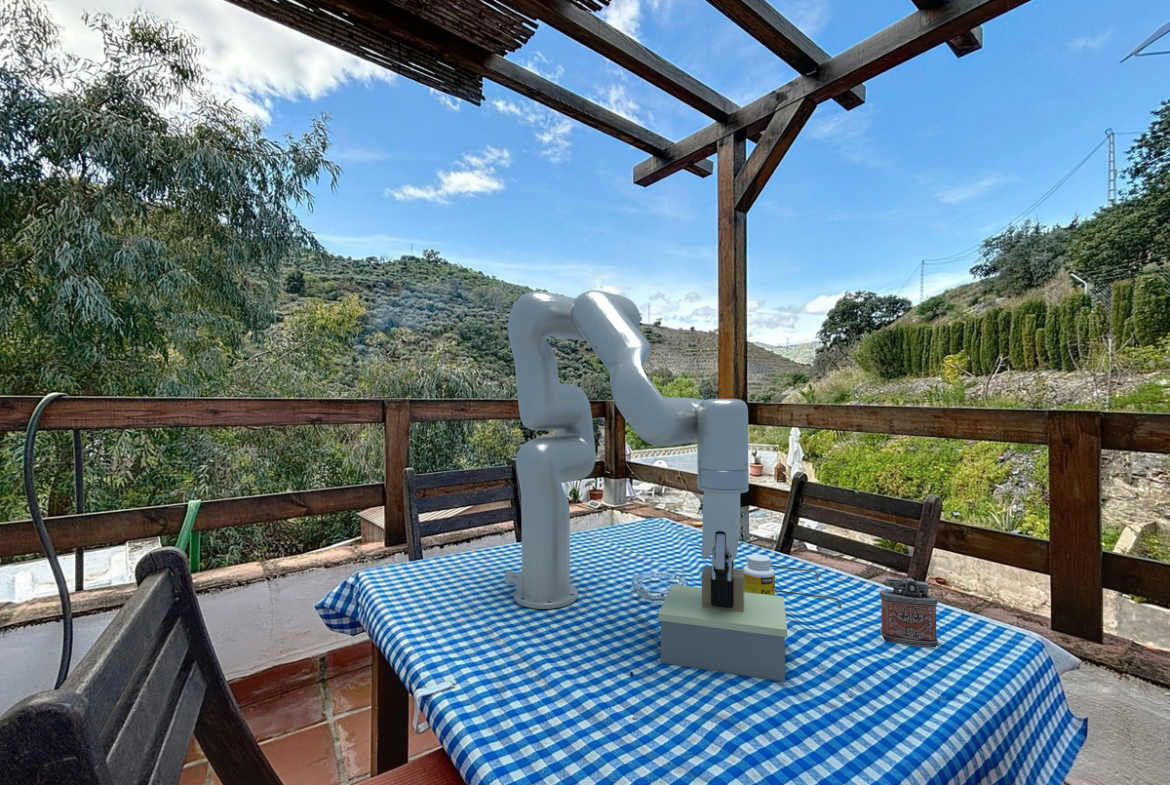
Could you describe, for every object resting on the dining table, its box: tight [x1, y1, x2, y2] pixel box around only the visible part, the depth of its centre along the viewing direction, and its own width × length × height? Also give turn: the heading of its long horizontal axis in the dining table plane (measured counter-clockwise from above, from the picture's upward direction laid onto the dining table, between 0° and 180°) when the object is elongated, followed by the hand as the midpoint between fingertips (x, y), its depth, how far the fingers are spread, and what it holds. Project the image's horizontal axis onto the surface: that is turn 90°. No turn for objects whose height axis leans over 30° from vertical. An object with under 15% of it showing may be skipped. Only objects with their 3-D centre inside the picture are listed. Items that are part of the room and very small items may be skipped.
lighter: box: [879, 576, 939, 648], centre depth 86 cm, size 8×3×10 cm, turn 71°
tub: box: [660, 621, 786, 683], centre depth 80 cm, size 17×12×7 cm
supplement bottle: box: [743, 554, 776, 596], centre depth 97 cm, size 6×6×10 cm
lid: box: [657, 565, 788, 638], centre depth 80 cm, size 18×13×8 cm
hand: (723, 599), depth 80 cm, fingers closed on lid, 4 cm apart
